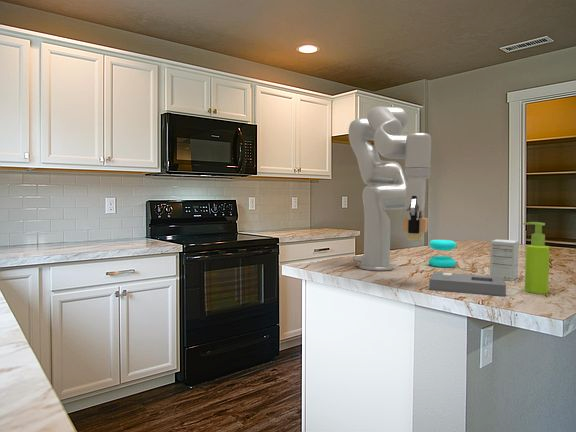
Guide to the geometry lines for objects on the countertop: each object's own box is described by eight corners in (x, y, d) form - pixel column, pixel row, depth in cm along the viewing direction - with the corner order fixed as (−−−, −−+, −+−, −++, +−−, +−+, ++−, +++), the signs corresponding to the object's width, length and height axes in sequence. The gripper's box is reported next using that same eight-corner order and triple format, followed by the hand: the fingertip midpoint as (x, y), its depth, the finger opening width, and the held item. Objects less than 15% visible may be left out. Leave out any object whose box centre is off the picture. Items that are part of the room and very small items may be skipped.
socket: (429, 289, 129) (429, 276, 129) (433, 281, 142) (434, 269, 142) (505, 296, 121) (506, 282, 121) (503, 286, 134) (503, 274, 134)
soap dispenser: (524, 288, 133) (527, 221, 132) (550, 291, 128) (553, 222, 127) (517, 290, 128) (520, 222, 128) (544, 294, 124) (547, 223, 123)
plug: (402, 240, 136) (403, 218, 135) (405, 238, 142) (406, 217, 141) (424, 241, 133) (425, 219, 133) (427, 239, 139) (427, 217, 139)
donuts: (424, 240, 174) (436, 238, 181) (424, 265, 174) (435, 263, 181) (449, 242, 166) (460, 240, 174) (448, 268, 167) (459, 266, 174)
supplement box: (495, 275, 154) (496, 239, 154) (518, 277, 150) (519, 240, 149) (488, 278, 149) (490, 240, 148) (513, 280, 144) (514, 242, 143)
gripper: (408, 175, 145) (406, 229, 147) (400, 173, 130) (398, 234, 131) (432, 175, 142) (430, 230, 144) (426, 173, 127) (424, 235, 128)
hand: (415, 231), depth 137 cm, fingers closed on plug, 6 cm apart
